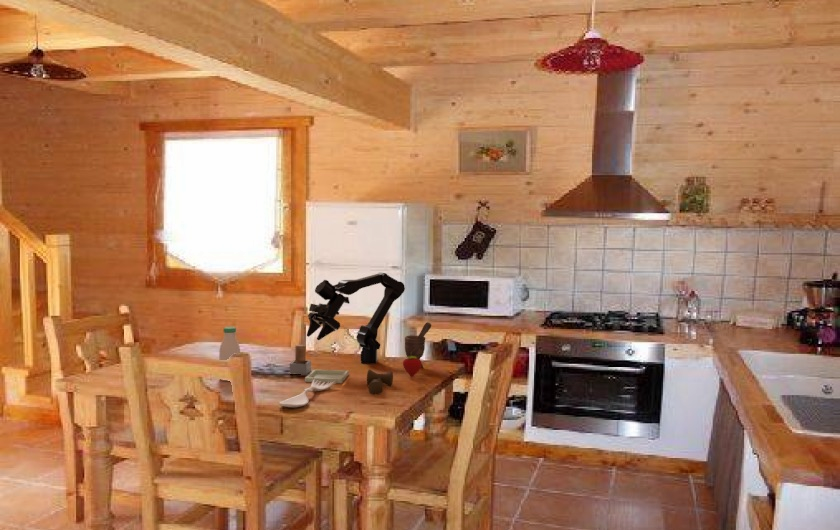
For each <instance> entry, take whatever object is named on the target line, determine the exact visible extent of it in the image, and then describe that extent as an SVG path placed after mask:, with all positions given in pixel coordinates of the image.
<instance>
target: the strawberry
mask: <svg viewBox="0 0 840 530" xmlns="http://www.w3.org/2000/svg"><path fill="white" fill-rule="evenodd" d="M411 353H412V352H411ZM421 365H423V362H422V360H421V359H420V360H419V359H417V357H416V356H411V357H410V356H409V357H406V358H405V359H404V360H403V361H402V366H403V369H404V370H405V372H406V373H407V374H408V376H410V377H411V378H413V377H415V375H416V374H417V373H418V372H419V371H420V370H421V369H420V368H421Z"/></svg>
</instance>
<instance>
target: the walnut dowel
mask: <svg viewBox="0 0 840 530" xmlns="http://www.w3.org/2000/svg"><path fill="white" fill-rule="evenodd" d="M294 348H295V350H294V351H295V356H294V357H295V359H294V360H295V363H298V364H305V363H306V360H307V359H306V358H307V357H306V356H307V355H306V354H307V352H306V350H307V349H306V345H305V344H297V345H295V347H294Z"/></svg>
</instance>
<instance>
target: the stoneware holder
mask: <svg viewBox="0 0 840 530" xmlns="http://www.w3.org/2000/svg"><path fill="white" fill-rule="evenodd" d="M311 372H312V360H310V359H309V360H307V359H306V363H305V364H298V363H295V359H294V360H293V361H291V362H290V363H289V374H290V373H298V374H301V375H300V376H307V375H309V374H310V373H311Z"/></svg>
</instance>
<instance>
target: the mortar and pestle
mask: <svg viewBox="0 0 840 530" xmlns="http://www.w3.org/2000/svg"><path fill="white" fill-rule="evenodd" d="M431 328H432V323H430V322H428V321H427V322H425V324H424V325H423V326H422V328H421V331H420V332H419V334H418V335H412V334H411V335H406V336H405V337H404V351H405V354H406V355H405V356H406V358H408V357H409V356H410V357H411V356H416V357H417V359H419V360H420V361H421V358H422V357H423V356H424V352H425V348H426V347H425V346H426V337H425V335H426V334H427V333H428V332H429V330H430V329H431ZM411 352H412V353H411ZM421 368H422V369H423V368H424V367H423V364H422V365H421Z"/></svg>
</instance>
